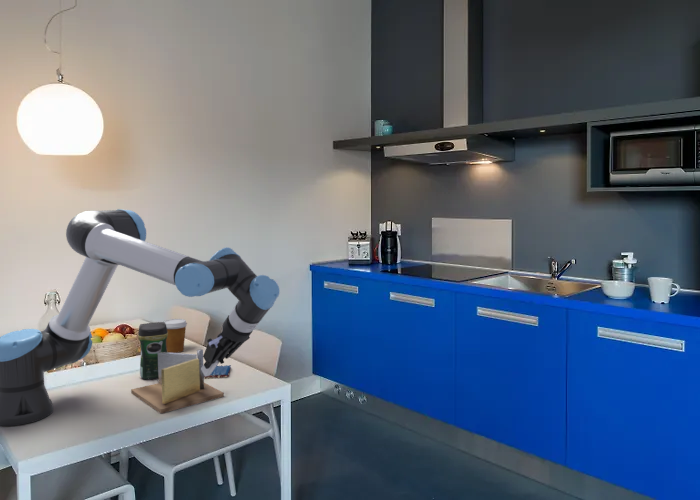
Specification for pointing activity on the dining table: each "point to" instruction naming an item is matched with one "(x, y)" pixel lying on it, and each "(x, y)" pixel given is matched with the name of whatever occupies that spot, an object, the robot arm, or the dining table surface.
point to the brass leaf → (180, 380)
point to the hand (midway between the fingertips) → (205, 372)
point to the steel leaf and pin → (176, 358)
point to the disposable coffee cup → (175, 335)
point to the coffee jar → (151, 347)
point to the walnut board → (154, 400)
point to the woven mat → (220, 372)
